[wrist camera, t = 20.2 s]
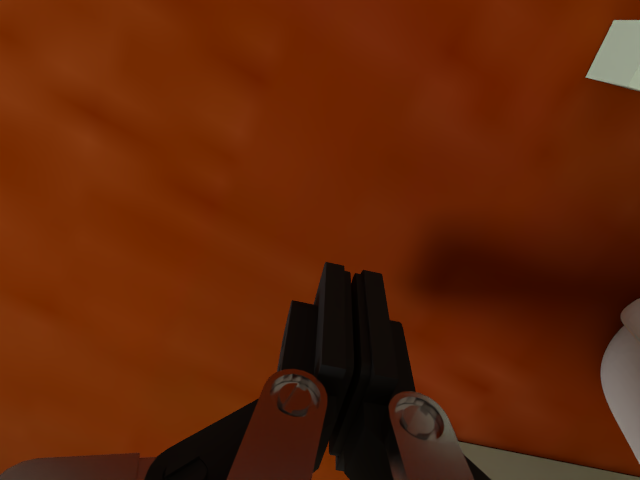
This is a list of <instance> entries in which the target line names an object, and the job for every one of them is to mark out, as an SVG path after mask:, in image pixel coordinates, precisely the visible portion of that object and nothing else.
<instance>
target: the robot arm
mask: <svg viewBox="0 0 640 480" xmlns="http://www.w3.org/2000/svg"><path fill="white" fill-rule="evenodd" d="M328 441H329V454H330V455H335V456H336V470H339V471H344V473H345V474H346V475H347V477H348V478H349V479H350V480H491V479H490V478H489V477H488V476H487V475H486V474H485V473H484V472H483V471H481V470H480V469H479V468H478V467H477V466H476V465H475V464H474V463H473V462H472V461H471V460H469V459H468V458H467V457H466V456H465V455H464V454H463V452H462V449H461V447H460V445H459V442H458V440H457V437H456V435H455V433H454V430H453V428H452V426H451V423H450V421H449V419H448V417H447V415H446V413H445V412H444V410H443V409H442V408H441V407H440V406H439V405H438V404H437V403H436V402H435V401H433V400H432V399H431V398H429V397H427V396H425V395H423V394H421V393H417V392H416V391H415V386H414V381H413V376H412V371H411V366H410V361H409V356H408V351H407V346H406V341H405V336H404V331H403V327H402V324H401V323H400V322H396V321H391V320H389V314H388V308H387V301H386V295H385V289H384V283H383V277H382V274H380V273H375V272H371V271H366V270H363V271H362V272H361V274H357V273H355V274H354V277H353V280H352V283H351V276H350V272H347V271H344V266H342V265H338V264H333V263H328V262H326V263H325V265H324V268H323V272H322V276H321V279H320V283H319V287H318V290H317V294H316V298H315V301H314V305H313V304H308V303H303V302H298V301H293V300H292V302H291V306H290V310H289V314H288V318H287V322H286V327H285V331H284V336H283V341H282V347H281V352H280V358H279V364H278V370H277V372H276V373H274V374H273V375H272V376H270V377H269V378H268V380H267V381H266V383H265V385H264V387H263V390H262V392H261V395H260V397H259V399H257V400H255V401H253V402H252V403H250V404H248V405H246V406H244V407H243V408H241V409H239V410H237V411H235V412H233V413H232V414H230V415H228V416H226V417H224V418H223V419H221V420H219V421H217V422H215V423H214V424H212V425H210V426H208V427H206V428H204V429H203V430H201V431H199V432H197V433H195V434H194V435H192V436H190V437H188V438H186V439H185V440H183V441H181V442H179V443H177V444H175V445H174V446H172V447H170V448H168V449H167V450H165V451H164V452H163V453H161V454H160V455H159V456H157V457H149V458H139V457H140V453H129V454H110V455H91V456H72V457H53V458H37V459H32V460H27V461H23V462H21V463H19V464H17V465H15V466H13V467H11V468H9V469H7V470H6V471H5V472H3V473H2V474H1V475H0V480H311V478H312V474H313V472H315V471H316V470H317V469H318V468H319V466H320V463H321V460H322V458H323V455H324V452H325V450H326V447H327V444H328Z"/></svg>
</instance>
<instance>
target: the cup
mask: <svg viewBox="0 0 640 480" xmlns="http://www.w3.org/2000/svg"><path fill="white" fill-rule="evenodd" d="M621 321H622V323H623V324H624V326H623V327H622V328H621V329H620V330H619V331H618V332H617V334H616V335H615V336H614V337H613V339H612V340H611V342H610V343H609V345H608V347H607V348H606V351H605V353H604V356H603V359H602V363H601V382H602V388H603V391H604V394H605V397H606V400H607V403H608V405H609V407H610V409H611V411H612V413H613V415H614V417H615V419H616V421H617V423H618V425H619V427H620V428H621V430H622V432H623V434H624V436H625V438H626V439H627V441H628V443H629V445H630V447H631V449H632V451H633V452H634V454H635V456H636V458H637V460H638V462H639V463H640V298H639V299H637V300H635V301H634V302H632V303H631V304H629V305H628V306H627V307H625V308H624V310H623V311H622V313H621Z"/></svg>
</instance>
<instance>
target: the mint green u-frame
mask: <svg viewBox="0 0 640 480" xmlns="http://www.w3.org/2000/svg"><path fill="white" fill-rule="evenodd" d="M586 78H590V79H594V80H598V81H602V82H606V83H609V84H613V85H617V86H621V87H625V88H629V89H632V90H636V91H640V20H614V21H613V23H612V25H611V27H610V29H609V31H608V33H607V35H606V37H605V39H604V41H603V43H602V45H601V47H600V49H599V51H598V53H597V55H596V57H595V59H594V61H593V63H592V65H591V67H590V69H589V71H588V73H587V75H586ZM458 442H459V441H458ZM459 445H460V447H461V449H462V452H463V454H464V455H465V456H466V457H467V458H468V459H469V460H471V461H472V462H473V463H474V464H475V465H476V466H477V467H478V468H479V469H480V470H481V471H483V472H484V473H485V474H486V475H487V476H488V477H489V478H490V479H491V480H640V477H635V476H630V475H625V474H620V473H615V472H610V471H605V470H600V469H594V468H589V467H584V466H579V465H574V464H569V463H564V462H559V461H554V460H549V459H544V458H539V457H534V456H529V455H524V454H519V453H514V452H509V451H504V450H499V449H494V448H489V447H484V446H479V445H474V444H469V443H464V442H459Z"/></svg>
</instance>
